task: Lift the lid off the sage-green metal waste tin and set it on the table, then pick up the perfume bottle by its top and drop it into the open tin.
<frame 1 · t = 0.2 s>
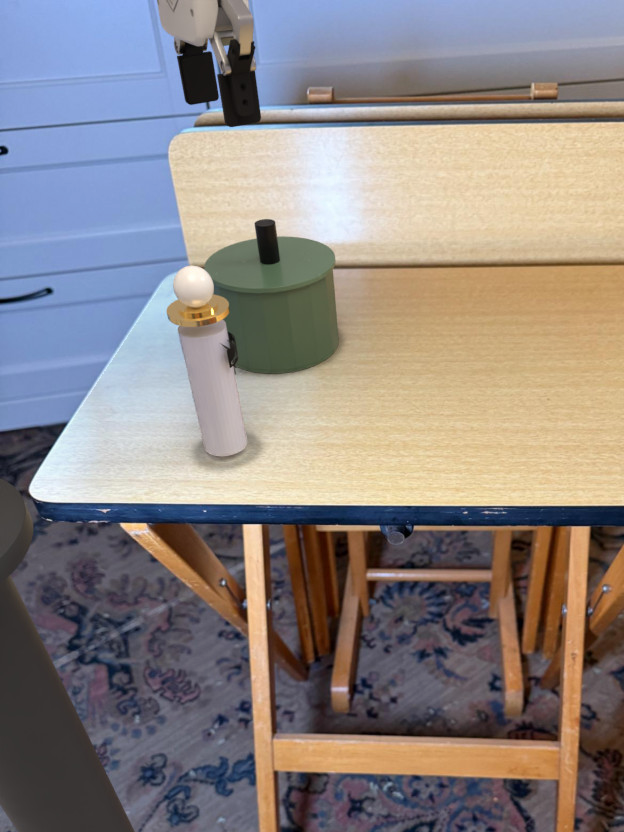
hand: (222, 112, 72), 30 cm above the table, tool pointing down, fingers open, 9 cm apart
tin: (281, 345, 102), on the table
tin lid: (270, 265, 95), point 10 cm above the table, touching tin
perfume bottle: (227, 451, 85), on the table
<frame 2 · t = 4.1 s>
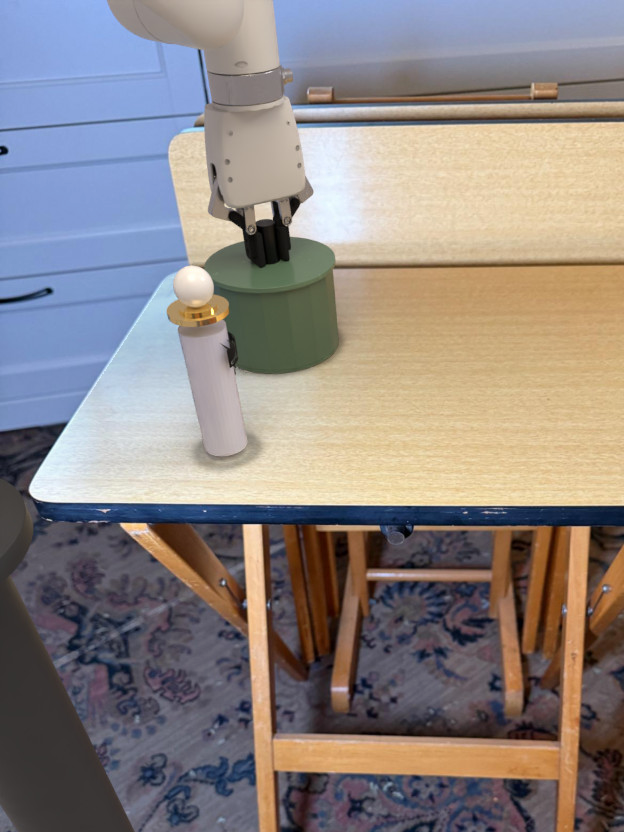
hand: (269, 259, 95), 11 cm above the table, tool pointing down, fingers closed on tin lid, 2 cm apart
tin lid: (270, 265, 95), point 11 cm above the table, touching gripper, tin
everything else where it was.
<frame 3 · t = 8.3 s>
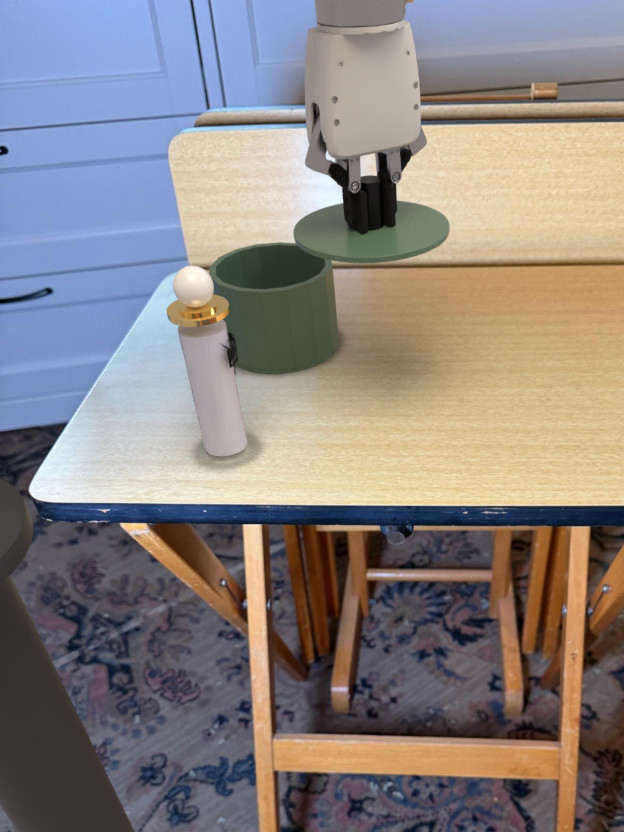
hand: (371, 224, 79), 20 cm above the table, tool pointing down, fingers closed on tin lid, 2 cm apart
tin lid: (371, 232, 80), point 19 cm above the table, touching gripper
everything else where it was.
when the fingers open (1 cm above the table, at t = 12.4 s): tin lid stays where it is, point 1 cm above the table.
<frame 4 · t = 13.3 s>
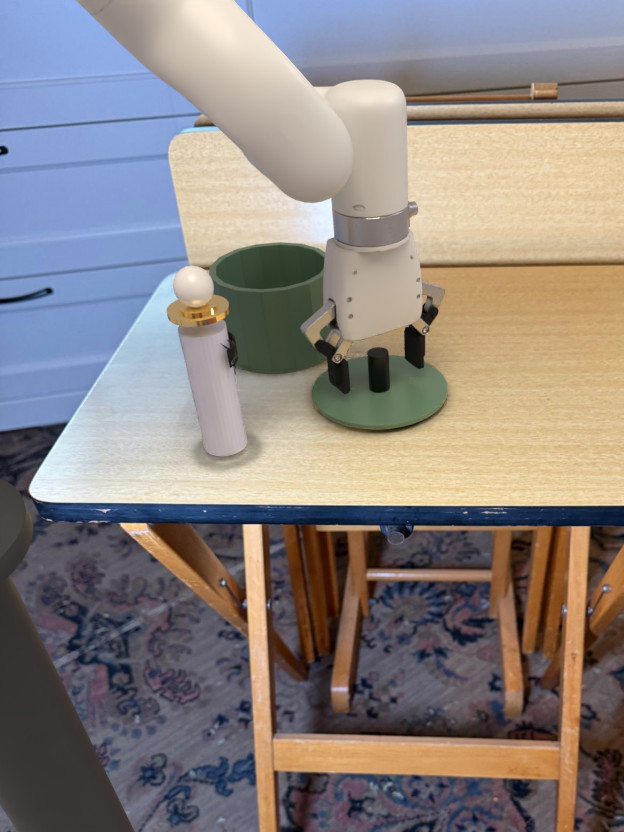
hand: (378, 375, 90), 3 cm above the table, tool pointing down, fingers open, 9 cm apart
tin lid: (379, 392, 92), point 1 cm above the table
everything else where it was.
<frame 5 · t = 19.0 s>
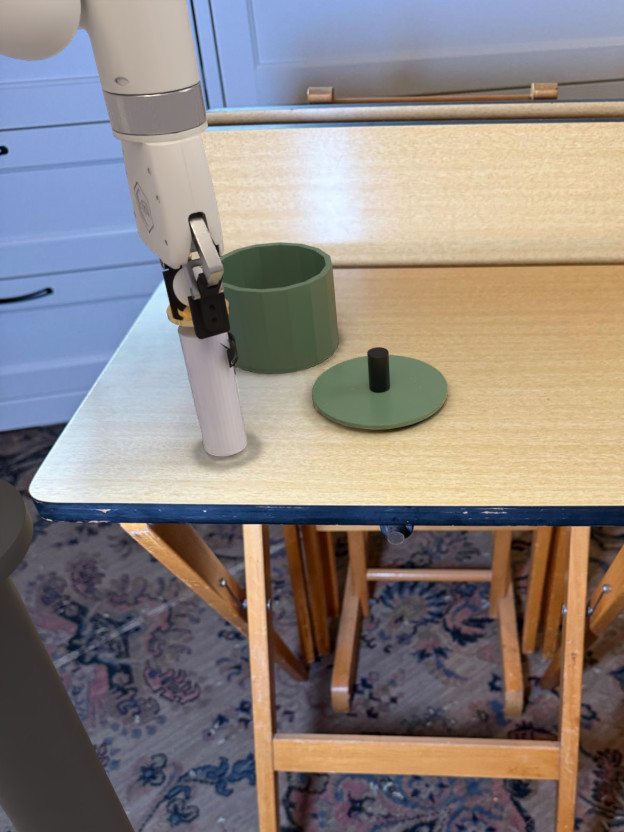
hand: (200, 319, 75), 15 cm above the table, tool pointing down, fingers closed on perfume bottle, 5 cm apart
perfume bottle: (227, 451, 85), on the table, touching gripper
everything else where it was.
when the fingers open (15 cm above the table, at t = 27.2 s): perfume bottle stays where it is, resting on tin.
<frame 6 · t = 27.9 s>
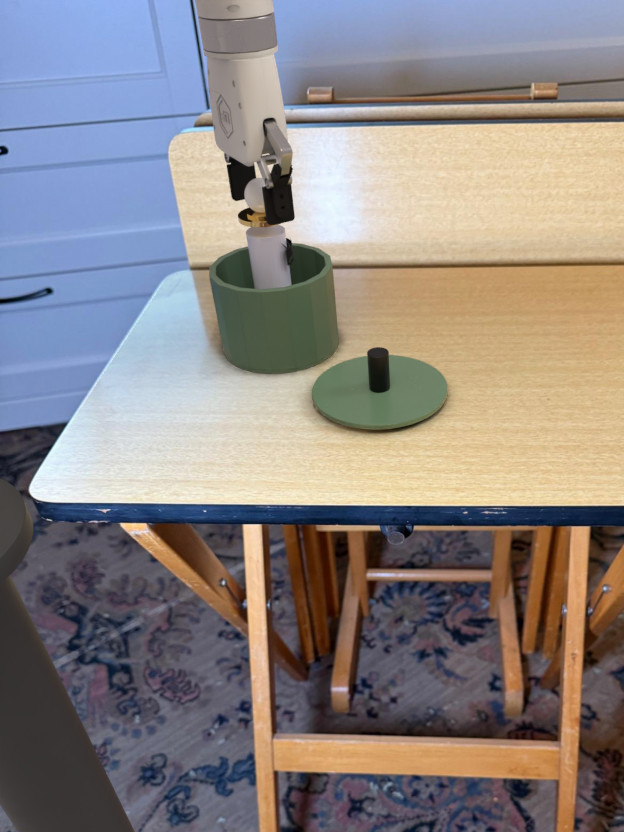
hand: (262, 209, 91), 17 cm above the table, tool pointing down, fingers open, 9 cm apart
perfume bottle: (280, 343, 102), resting on tin
everything else where it was.
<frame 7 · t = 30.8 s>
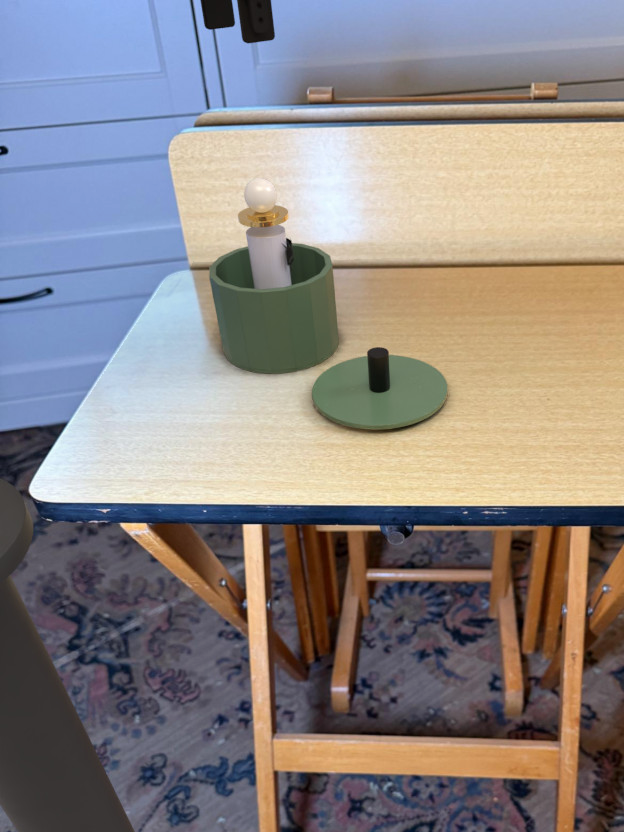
hand: (239, 34, 80), 34 cm above the table, tool pointing down, fingers open, 9 cm apart
nothing on the table moved.
at the end: tin lid inside the target area (0.0 cm from its centre), point 0.6 cm above the table; perfume bottle inside the target area in the tin (0.1 cm from its centre), point 0.3 cm above the tin's base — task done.
